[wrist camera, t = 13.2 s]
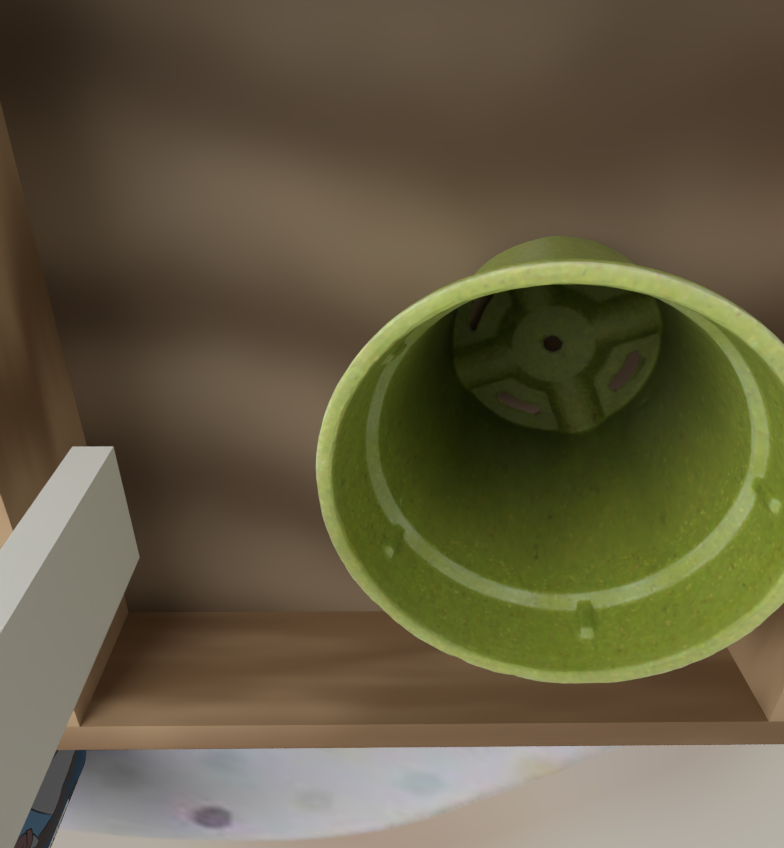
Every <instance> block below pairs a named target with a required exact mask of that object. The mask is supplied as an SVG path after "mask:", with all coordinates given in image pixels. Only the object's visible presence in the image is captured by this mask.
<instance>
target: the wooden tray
mask: <svg viewBox="0 0 784 848" xmlns="http://www.w3.org/2000/svg"><path fill="white" fill-rule="evenodd" d="M550 236H569V237H576V238H583V239H588V240H592V241H596V242H598V243H601V244H604V245H606V246H608V247H610V248H612V249H614V250H616V251H618V252H620V253H621V254H623V255H624V256H625V257H627V258H628V259H629V260H631V261H632V262H633V263H634V264H635V265H639V266H644V267H648V268H653V269H656V270H660V271H663V272H666V273H670V274H673V275H676V276H679V277H682V278H684V279H687V280H689V281H692V282H694V283H697V284H699V285H702V286H704V287H706V288H708V289H710V290H712V291H714V292H716V293H718V294H720V295H722V296H723V297H725V298H727V299H728V300H730V301H732V302H733V303H735V304H736V305H738V306H740V307H741V308H743V309H744V310H745V311H747V312H748V313H749V314H751V315H752V316H753V317H755V318H756V319H757V320H759V321H760V322H761V323H762V324H764V325H765V326H766V327H767V328H768V329H769V330H770V331H771V332H772V333H774V334H775V335H776V336H777V337H778V339H779V340H780V341H781V342H782V343H783V344H784V0H0V549H1V548H2V546H3V545H4V543H5V542H6V540H7V539H8V538H9V536H10V535H11V533H12V532H13V530H14V529H15V528H16V526H17V525H18V523H19V522H20V520H21V519H22V518H23V516H24V515H25V513H26V512H27V510H28V509H29V508H30V506H31V505H32V503H33V502H34V501H35V499H36V498H37V496H38V495H39V493H40V492H41V491H42V489H43V488H44V486H45V485H46V483H47V482H48V481H49V479H50V478H51V476H52V475H53V473H54V472H55V471H56V469H57V468H58V466H59V465H60V463H61V462H62V461H63V459H64V458H65V456H66V455H67V453H68V452H69V451H70V449H71V448H72V447H97V446H113V447H114V451H115V455H116V459H117V463H118V468H119V472H120V476H121V480H122V485H123V489H124V493H125V497H126V502H127V506H128V510H129V514H130V518H131V523H132V527H133V531H134V535H135V540H136V544H137V548H138V552H139V557H140V558H139V560H138V562H137V565H136V567H135V569H134V572H133V574H132V576H131V578H130V581H129V583H128V585H127V588H126V590H125V592H124V595H123V597H122V599H121V602H120V604H119V606H118V608H117V611H116V613H115V615H114V618H113V620H112V622H111V625H110V627H109V629H108V632H107V634H106V636H105V638H104V641H103V643H102V645H101V648H100V650H99V652H98V655H97V657H96V659H95V662H94V664H93V666H92V668H91V671H90V673H89V675H88V678H87V680H86V682H85V685H84V687H83V689H82V692H81V694H80V696H79V698H78V701H77V703H76V705H75V708H74V710H73V712H72V715H71V717H70V719H69V722H68V724H67V726H66V728H65V731H64V733H63V735H62V738H61V740H60V742H59V745H58V747H57V749H56V750H127V749H248V748H369V747H490V746H611V745H717V744H718V745H724V744H725V745H730V744H731V745H732V744H784V603H783V604H782V605H781V606H780V607H779V608H778V609H777V610H776V611H775V612H773V613H772V614H771V615H770V616H769V617H768V618H767V619H766V620H765V621H764V622H763V623H762V624H761V625H760V626H758V627H757V628H755V629H754V630H753V631H752V632H751V633H749V634H747V635H745V636H744V637H742V638H741V639H740V640H738V641H737V642H735V643H733V644H731V645H730V646H728V647H726V648H724V649H722V650H720V651H718V652H716V653H715V654H713V655H711V656H709V657H707V658H705V659H702V660H700V661H697V662H694V663H691V664H689V665H687V666H685V667H683V668H679V669H675V670H672V671H669V672H666V673H662V674H657V675H652V676H649V677H644V678H639V679H633V680H627V681H621V682H612V683H563V684H562V683H551V682H540V681H535V680H531V679H525V678H522V677H517V676H515V675H508V674H502V673H497V672H493V671H490V670H488V669H484V668H481V667H478V666H475V665H472V664H470V663H467V662H466V661H464V660H462V659H460V658H458V657H455V656H452V655H449V654H447V653H445V652H443V651H441V650H439V649H437V648H435V647H433V646H431V645H430V644H428V643H426V642H424V641H422V640H420V639H419V638H417V637H416V636H414V635H413V634H412V633H410V632H409V631H407V630H406V629H405V628H404V627H402V626H401V625H400V624H398V623H397V622H396V621H394V620H393V619H392V618H391V617H390V616H389V615H388V614H387V613H386V612H385V611H384V610H383V609H382V608H381V607H380V606H379V605H378V604H377V603H375V602H374V601H373V600H372V599H371V598H370V597H369V596H368V595H367V594H366V593H365V592H364V591H363V590H362V588H361V587H360V586H359V585H358V584H357V582H356V581H355V580H354V579H353V578H352V576H351V575H350V573H349V572H348V570H347V569H346V567H345V565H344V563H343V562H342V560H341V559H340V557H339V555H338V553H337V551H336V549H335V547H334V545H333V544H332V541H331V539H330V536H329V533H328V531H327V529H326V526H325V523H324V520H323V516H322V512H321V506H320V501H319V496H318V487H317V480H316V453H317V444H318V439H319V434H320V430H321V426H322V422H323V418H324V414H325V412H326V409H327V406H328V404H329V401H330V399H331V397H332V395H333V392H334V390H335V388H336V386H337V384H338V383H339V381H340V380H341V378H342V376H343V375H344V373H345V372H346V370H347V369H348V367H349V366H350V364H351V363H352V361H353V360H354V358H355V357H356V356H357V355H358V353H359V352H360V351H361V349H362V348H363V347H364V346H365V345H366V344H367V343H368V342H369V341H370V339H371V338H372V337H373V336H374V335H375V334H376V333H377V332H378V331H379V330H380V329H381V328H382V327H383V326H384V325H385V324H387V323H388V322H389V321H390V320H391V319H393V318H394V317H395V316H396V315H398V314H399V313H400V312H402V311H403V310H405V309H406V308H407V307H409V306H410V305H412V304H413V303H415V302H417V301H418V300H420V299H422V298H423V297H425V296H427V295H429V294H430V293H432V292H434V291H436V290H438V289H440V288H442V287H444V286H447V285H449V284H451V283H453V282H456V281H458V280H460V279H463V278H466V277H469V276H472V275H474V274H475V273H476V272H477V271H478V270H479V269H480V268H481V267H482V266H483V265H484V264H485V263H486V262H488V261H489V260H490V259H492V258H493V257H495V256H496V255H498V254H500V253H502V252H503V251H505V250H508V249H510V248H512V247H514V246H516V245H519V244H522V243H525V242H529V241H532V240H536V239H540V238H544V237H550ZM493 296H494V294H490V295H487V296H483V297H480V298H477V300H476V301H475V303H474V305H473V308H472V311H471V318H470V325H471V327H472V329H471V330H473V331H474V330H476V329H477V324H478V323H479V322H480V318H481V316H482V314H483V312H484V310H485V308H486V307H487V305H488V303H489V302H490V300H491V299H492V298H493ZM543 343H544V347H545V348H546V349H547V350H550V351H551V352H555V351H558V350H559V349H560V348H561V346H562V342H561V341H560V339H559V338H557V337H556V336H549V337H546V338H545V339H544V342H543ZM639 357H640V355H639V353H638V352H637V351H636V350H635V351H632V352H630V353H629V355H628V356H627V360H626V362H625V364H624V366H623V368H622V369H621V370H620V372H619V373H618V374H617V375H616V377H615V378H614V379H613V381H612V382H611V383H610V388H611V389H612V390H615V389H619V388H620V387H621V386H623V385H624V384H625V383H626V382H627V381H628V380H629V379H630V377H631V375H632V374H633V373H634V371H635V370H636V369H637V366H638V364H639ZM499 399H500V400H501V401H502V402H503V403H505V404H506V405H508V406H510V407H512V408H516V409H520V410H523V411H526V412H528V413H531V414H535V413H537V412H538V411H540V408H539V406H536V405H531V404H530V403H527V402H525V401H522V400H520V399H518V398H516V397H514V396H512V395H510V394H509V393H507V392H505V391H504V392H501V393H499Z"/></svg>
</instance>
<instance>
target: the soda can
mask: <svg viewBox="0 0 784 848" xmlns="http://www.w3.org/2000/svg"><path fill="white" fill-rule="evenodd" d="M85 759H86V750H56V752H55V754H54V756H53V758H52V761H51V763H50V765H49V768H48V770H47V772H46V775H45V777H44V779H43V782H42V784H41V786H40V788H39V791H38V793H37V795H36V798H35V800H34V802H33V805H32V807H31V809H30V812H29V814H28V816H27V818H26V821H25V823H24V825H23V828H22V830H21V832H20V835H19V837H18V839H17V842H16V844H15V846H14V848H51V846H52V843H53V841H54V839H55V836H56V833H57V831H58V829H59V826H60V824H61V821H62V819H63V816H64V814H65V811H66V809H67V806H68V804H69V801H70V799H71V796H72V794H73V791H74V789H75V786H76V784H77V781H78V779H79V776H80V774H81V771H82V769H83V767H84V764H85Z"/></svg>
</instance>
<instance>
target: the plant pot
mask: <svg viewBox="0 0 784 848" xmlns="http://www.w3.org/2000/svg"><path fill="white" fill-rule="evenodd" d="M490 294H494V296H493V298H492V299H491V300H490V302H489V303H488V305H487V307H486V308H485V310H484V312H483V314H482V316H481V318H480V322H479V323H478V324H477V329H476V330H474V331H473V330H471V329H472V327H471V325H470V318H471V311H472V308H473V305H474V303H475V301H476V300H477V298H480V297H483V296H487V295H490ZM549 336H556V337H557V338H559V339H560V341H561V342H562V346H561V348H560V349H559V350H558V351H555V352H551V351H550V350H547V349H546V348H545V347H544V343H543V342H544V339H545V338H546V337H549ZM635 350H636V351H637V352H638V353H639V355H640V357H639V364H638V366H637V369H636V370H635V371H634V373H633V374H632V375H631V377H630V379H629V380H628V381H627V382H626V383H625V384H624V385H623V386H621V387H620V388H619V389H615V390H612V389H611V388H610V383H611V382H612V381H613V379H614V378H615V377H616V375H617V374H618V373H619V372H620V370H621V369H622V368H623V366H624V364H625V362H626V360H627V356H628V355H629V353H630V352H632V351H635ZM504 391H505V392H507V393H509V394H510V395H512V396H514V397H516V398H518V399H520V400H522V401H525V402H527V403H530V404H531V405H536V406H539V408H540V411H538V412H537V413H535V414H531V413H528V412H526V411H523V410H520V409H516V408H512V407H510V406H508V405H506V404H505V403H503V402H502V401H501V400H500V399H499V393H501V392H504ZM316 480H317V487H318V496H319V501H320V506H321V512H322V516H323V520H324V523H325V526H326V529H327V531H328V533H329V536H330V539H331V541H332V544H333V545H334V547H335V549H336V551H337V553H338V555H339V557H340V559H341V560H342V562H343V563H344V565H345V567H346V569H347V570H348V572H349V573H350V575H351V576H352V578H353V579H354V580H355V581H356V582H357V584H358V585H359V586H360V587H361V588H362V590H363V591H364V592H365V593H366V594H367V595H368V596H369V597H370V598H371V599H372V600H373V601H374V602H375V603H377V604H378V605H379V606H380V607H381V608H382V609H383V610H384V611H385V612H386V613H387V614H388V615H389V616H390V617H391V618H392V619H393V620H394V621H396V622H397V623H398V624H400V625H401V626H402V627H404V628H405V629H406V630H407V631H409V632H410V633H412V634H413V635H414V636H416V637H417V638H419V639H420V640H422V641H424V642H426V643H428V644H430V645H431V646H433V647H435V648H437V649H439V650H441V651H443V652H445V653H447V654H449V655H452V656H455V657H458V658H460V659H462V660H464V661H466V662H467V663H470V664H472V665H475V666H478V667H481V668H484V669H488V670H490V671H493V672H497V673H502V674H508V675H515V676H517V677H522V678H525V679H531V680H535V681H540V682H551V683H562V684H563V683H612V682H621V681H627V680H633V679H639V678H644V677H649V676H652V675H657V674H662V673H666V672H669V671H672V670H675V669H679V668H683V667H685V666H687V665H689V664H691V663H694V662H697V661H700V660H702V659H705V658H707V657H709V656H711V655H713V654H715V653H716V652H718V651H720V650H722V649H724V648H726V647H728V646H730V645H731V644H733V643H735V642H737V641H738V640H740V639H741V638H742V637H744V636H745V635H747V634H749V633H751V632H752V631H753V630H754V629H755V628H757V627H758V626H760V625H761V624H762V623H763V622H764V621H765V620H766V619H767V618H768V617H769V616H770V615H771V614H772V613H773V612H775V611H776V610H777V609H778V608H779V607H780V606H781V605H782V604H783V603H784V344H783V343H782V342H781V341H780V340H779V339H778V337H777V336H776V335H775V334H774V333H772V332H771V331H770V330H769V329H768V328H767V327H766V326H765V325H764V324H762V323H761V322H760V321H759V320H757V319H756V318H755V317H753V316H752V315H751V314H749V313H748V312H747V311H745V310H744V309H743V308H741V307H740V306H738V305H736V304H735V303H733V302H732V301H730V300H728V299H727V298H725V297H723V296H722V295H720V294H718V293H716V292H714V291H712V290H710V289H708V288H706V287H704V286H702V285H699V284H697V283H694V282H692V281H689V280H687V279H684V278H682V277H679V276H676V275H673V274H670V273H666V272H663V271H660V270H656V269H653V268H648V267H644V266H639V265H635V264H634V263H633V262H632V261H631V260H629V259H628V258H627V257H625V256H624V255H623V254H621V253H620V252H618V251H616V250H614V249H612V248H610V247H608V246H606V245H604V244H601V243H598V242H596V241H592V240H588V239H583V238H576V237H569V236H550V237H544V238H540V239H536V240H532V241H529V242H525V243H522V244H519V245H516V246H514V247H512V248H510V249H508V250H505V251H503V252H502V253H500V254H498V255H496V256H495V257H493V258H492V259H490V260H489V261H488V262H486V263H485V264H484V265H483V266H482V267H481V268H480V269H479V270H478V271H477V272H476V273H475V274H474V275H472V276H469V277H466V278H463V279H460V280H458V281H456V282H453V283H451V284H449V285H447V286H444V287H442V288H440V289H438V290H436V291H434V292H432V293H430V294H429V295H427V296H425V297H423V298H422V299H420V300H418V301H417V302H415V303H413V304H412V305H410V306H409V307H407V308H406V309H405V310H403V311H402V312H400V313H399V314H398V315H396V316H395V317H394V318H393V319H391V320H390V321H389V322H388V323H387V324H385V325H384V326H383V327H382V328H381V329H380V330H379V331H378V332H377V333H376V334H375V335H374V336H373V337H372V338H371V339H370V341H369V342H368V343H367V344H366V345H365V346H364V347H363V348H362V349H361V351H360V352H359V353H358V355H357V356H356V357H355V358H354V360H353V361H352V363H351V364H350V366H349V367H348V369H347V370H346V372H345V373H344V375H343V376H342V378H341V380H340V381H339V383H338V384H337V386H336V388H335V390H334V392H333V395H332V397H331V399H330V401H329V404H328V406H327V409H326V412H325V414H324V418H323V422H322V426H321V430H320V434H319V439H318V444H317V453H316Z"/></svg>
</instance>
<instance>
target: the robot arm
mask: <svg viewBox="0 0 784 848" xmlns="http://www.w3.org/2000/svg"><path fill="white" fill-rule="evenodd" d="M139 558H140V557H139V552H138V548H137V544H136V540H135V535H134V531H133V527H132V523H131V518H130V514H129V510H128V506H127V502H126V497H125V493H124V489H123V485H122V480H121V476H120V472H119V468H118V463H117V459H116V455H115V451H114V447H113V446H97V447H72V448H71V449H70V451H69V452H68V453H67V455H66V456H65V458H64V459H63V461H62V462H61V463H60V465H59V466H58V468H57V469H56V471H55V472H54V473H53V475H52V476H51V478H50V479H49V481H48V482H47V483H46V485H45V486H44V488H43V489H42V491H41V492H40V493H39V495H38V496H37V498H36V499H35V501H34V502H33V503H32V505H31V506H30V508H29V509H28V510H27V512H26V513H25V515H24V516H23V518H22V519H21V520H20V522H19V523H18V525H17V526H16V528H15V529H14V530H13V532H12V533H11V535H10V536H9V538H8V539H7V540H6V542H5V543H4V545H3V546H2V548H1V549H0V848H14V846H15V844H16V842H17V839H18V837H19V835H20V832H21V830H22V828H23V825H24V823H25V821H26V818H27V816H28V814H29V812H30V809H31V807H32V805H33V802H34V800H35V798H36V795H37V793H38V791H39V788H40V786H41V784H42V782H43V779H44V777H45V775H46V772H47V770H48V768H49V765H50V763H51V761H52V758H53V756H54V754H55V752H56V749H57V747H58V745H59V742H60V740H61V738H62V735H63V733H64V731H65V728H66V726H67V724H68V722H69V719H70V717H71V715H72V712H73V710H74V708H75V705H76V703H77V701H78V698H79V696H80V694H81V692H82V689H83V687H84V685H85V682H86V680H87V678H88V675H89V673H90V671H91V668H92V666H93V664H94V662H95V659H96V657H97V655H98V652H99V650H100V648H101V645H102V643H103V641H104V638H105V636H106V634H107V632H108V629H109V627H110V625H111V622H112V620H113V618H114V615H115V613H116V611H117V608H118V606H119V604H120V602H121V599H122V597H123V595H124V592H125V590H126V588H127V585H128V583H129V581H130V578H131V576H132V574H133V572H134V569H135V567H136V565H137V562H138V560H139Z"/></svg>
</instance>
